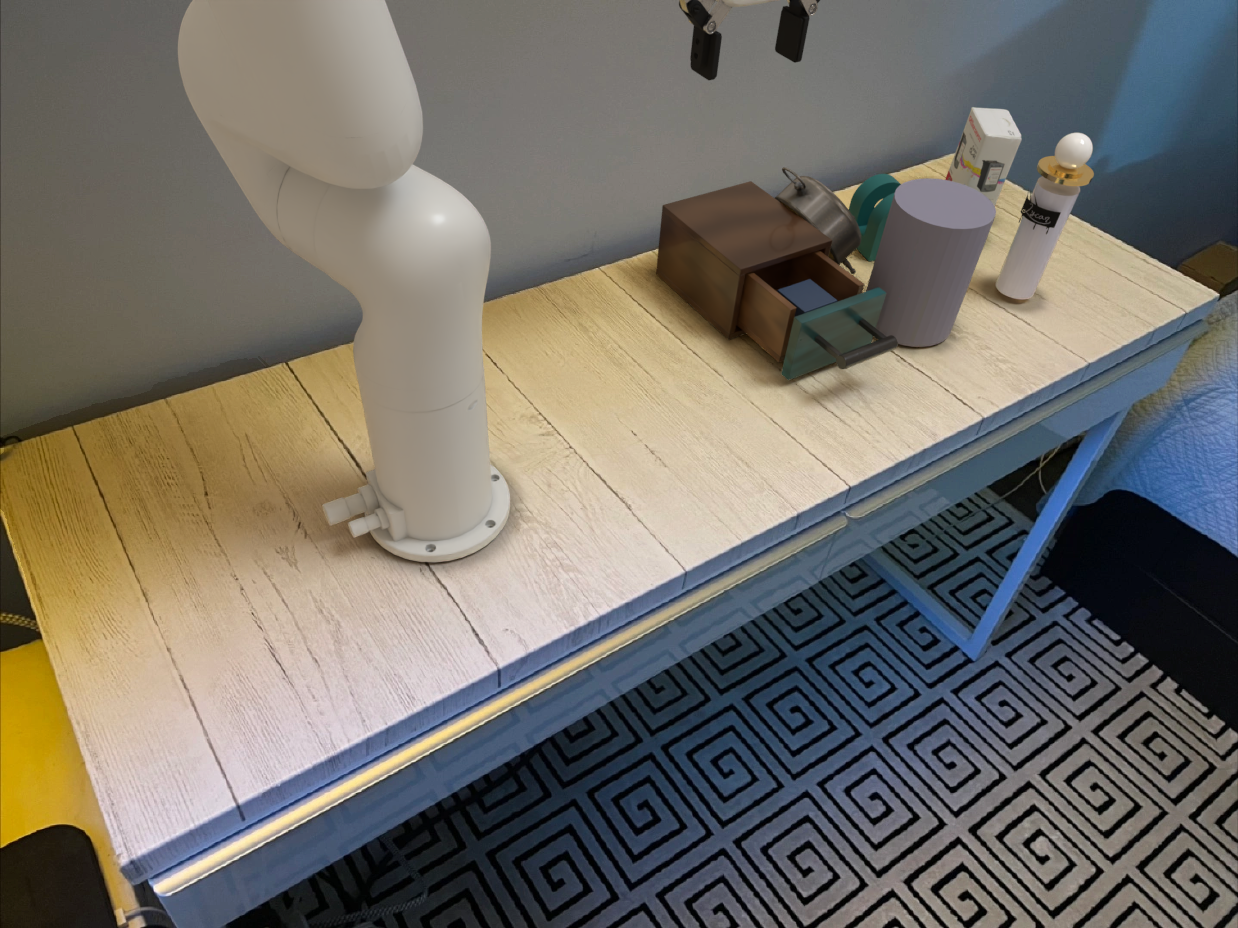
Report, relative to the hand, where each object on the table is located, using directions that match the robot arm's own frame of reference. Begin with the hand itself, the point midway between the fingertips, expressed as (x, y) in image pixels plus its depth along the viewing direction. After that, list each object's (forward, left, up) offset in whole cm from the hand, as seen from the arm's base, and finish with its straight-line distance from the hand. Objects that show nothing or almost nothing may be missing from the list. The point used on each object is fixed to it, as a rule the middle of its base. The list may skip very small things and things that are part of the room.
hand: (746, 65), depth 83 cm
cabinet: (+6, +3, -28) cm, 29 cm away
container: (+20, -11, -28) cm, 36 cm away
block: (+6, -8, -26) cm, 28 cm away
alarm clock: (+21, +3, -27) cm, 34 cm away
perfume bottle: (+36, -13, -28) cm, 48 cm away
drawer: (+6, -9, -27) cm, 29 cm away
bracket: (+35, +2, -28) cm, 45 cm away
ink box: (+47, +5, -28) cm, 55 cm away
